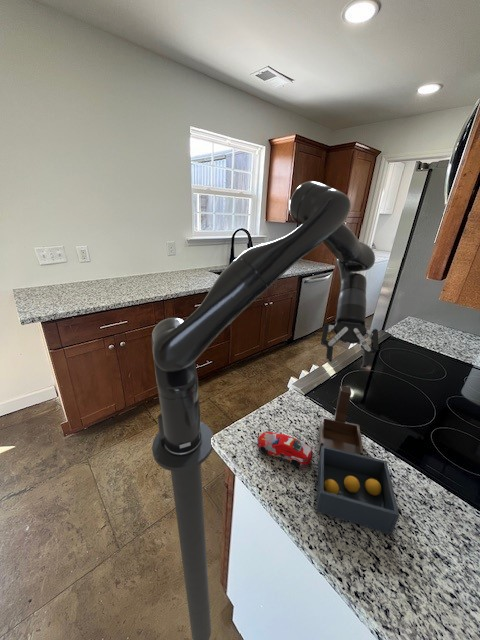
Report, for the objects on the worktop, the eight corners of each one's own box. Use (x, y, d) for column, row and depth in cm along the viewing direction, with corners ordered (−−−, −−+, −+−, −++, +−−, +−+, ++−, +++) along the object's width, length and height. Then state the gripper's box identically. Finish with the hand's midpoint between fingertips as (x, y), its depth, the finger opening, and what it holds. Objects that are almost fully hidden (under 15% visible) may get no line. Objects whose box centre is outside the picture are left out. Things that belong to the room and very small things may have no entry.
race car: (253, 449, 64) (254, 437, 63) (262, 434, 69) (263, 422, 67) (307, 473, 59) (309, 460, 57) (313, 454, 63) (315, 442, 62)
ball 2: (340, 474, 56) (348, 485, 56) (341, 486, 54) (349, 497, 54) (354, 470, 55) (361, 482, 55) (355, 482, 52) (363, 494, 53)
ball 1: (330, 483, 52) (343, 487, 52) (323, 474, 55) (336, 477, 55) (325, 498, 52) (338, 501, 52) (318, 487, 55) (331, 491, 55)
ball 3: (385, 490, 54) (370, 484, 56) (381, 478, 53) (367, 472, 56) (379, 502, 52) (364, 495, 54) (376, 489, 52) (360, 483, 54)
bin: (316, 511, 51) (320, 492, 49) (318, 462, 61) (321, 445, 59) (391, 534, 48) (399, 515, 46) (380, 479, 58) (386, 461, 56)
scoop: (319, 421, 73) (326, 382, 68) (355, 429, 70) (365, 389, 65) (318, 455, 63) (326, 412, 58) (360, 466, 61) (371, 422, 55)
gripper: (326, 299, 74) (320, 355, 68) (382, 305, 70) (380, 365, 64) (324, 311, 81) (318, 362, 75) (375, 316, 77) (372, 371, 71)
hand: (347, 363), depth 70 cm, fingers open, 8 cm apart
